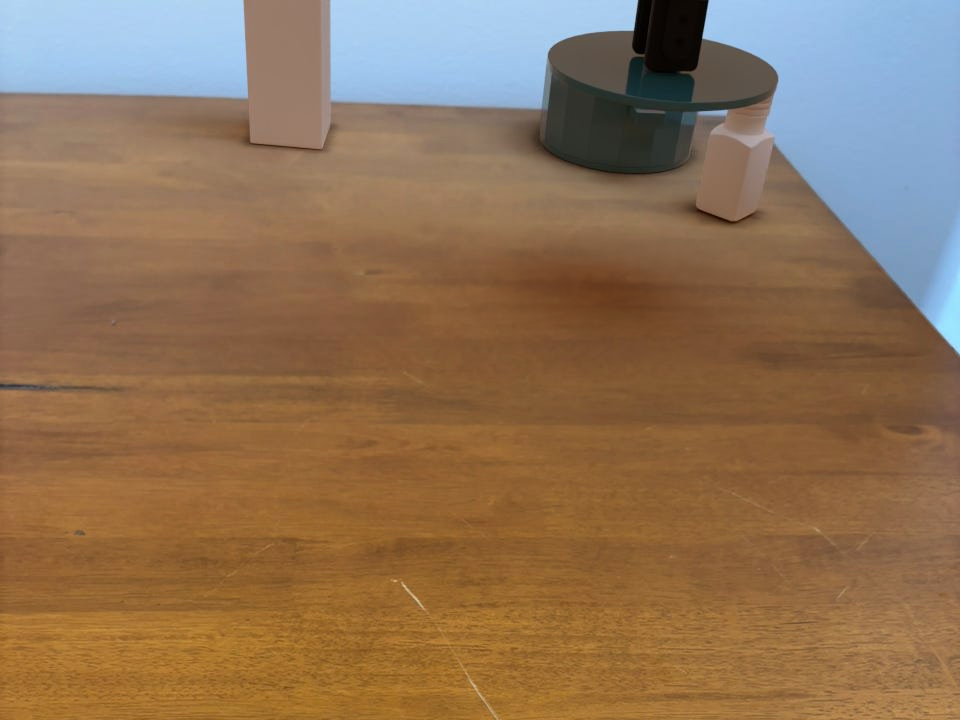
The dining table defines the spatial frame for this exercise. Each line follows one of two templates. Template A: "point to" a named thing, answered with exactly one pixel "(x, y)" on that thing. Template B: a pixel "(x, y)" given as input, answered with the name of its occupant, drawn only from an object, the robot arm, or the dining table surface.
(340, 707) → the dining table surface
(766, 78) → the lid
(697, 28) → the robot arm
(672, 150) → the pot
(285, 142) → the milk
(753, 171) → the pepper shaker
